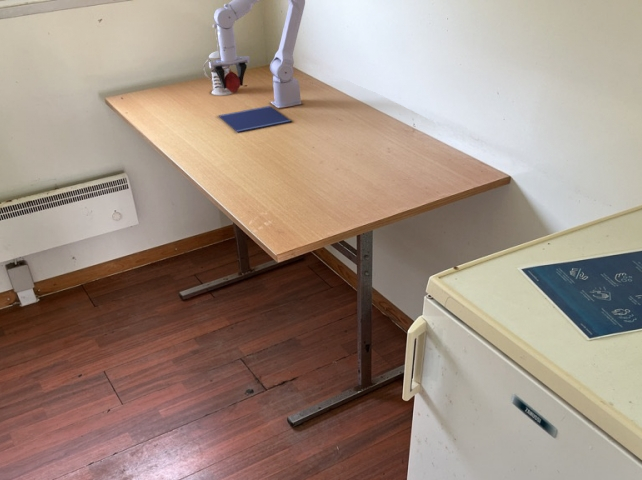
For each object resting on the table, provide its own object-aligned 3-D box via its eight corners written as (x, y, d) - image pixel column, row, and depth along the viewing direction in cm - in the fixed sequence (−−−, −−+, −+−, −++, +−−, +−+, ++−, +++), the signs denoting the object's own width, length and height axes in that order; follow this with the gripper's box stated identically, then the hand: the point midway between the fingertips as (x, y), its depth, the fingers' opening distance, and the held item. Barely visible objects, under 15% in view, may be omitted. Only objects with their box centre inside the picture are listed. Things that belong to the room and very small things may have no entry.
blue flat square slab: (269, 107, 247) (269, 105, 247) (291, 122, 232) (291, 120, 232) (218, 116, 240) (218, 115, 240) (238, 132, 225) (237, 131, 225)
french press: (234, 94, 261) (225, 26, 246) (204, 95, 261) (194, 27, 246) (237, 87, 268) (229, 20, 254) (209, 88, 269) (199, 21, 254)
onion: (242, 90, 241) (240, 67, 237) (239, 95, 237) (236, 71, 232) (227, 90, 242) (224, 67, 237) (223, 95, 237) (220, 72, 233)
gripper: (243, 41, 235) (247, 80, 243) (204, 47, 230) (210, 87, 239) (250, 45, 230) (254, 85, 238) (210, 51, 225) (216, 91, 233)
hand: (232, 86), depth 238 cm, fingers closed on onion, 6 cm apart
